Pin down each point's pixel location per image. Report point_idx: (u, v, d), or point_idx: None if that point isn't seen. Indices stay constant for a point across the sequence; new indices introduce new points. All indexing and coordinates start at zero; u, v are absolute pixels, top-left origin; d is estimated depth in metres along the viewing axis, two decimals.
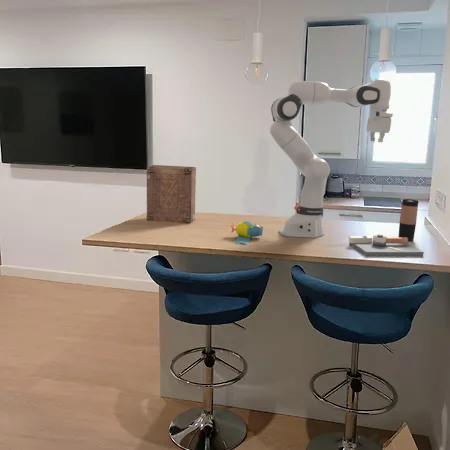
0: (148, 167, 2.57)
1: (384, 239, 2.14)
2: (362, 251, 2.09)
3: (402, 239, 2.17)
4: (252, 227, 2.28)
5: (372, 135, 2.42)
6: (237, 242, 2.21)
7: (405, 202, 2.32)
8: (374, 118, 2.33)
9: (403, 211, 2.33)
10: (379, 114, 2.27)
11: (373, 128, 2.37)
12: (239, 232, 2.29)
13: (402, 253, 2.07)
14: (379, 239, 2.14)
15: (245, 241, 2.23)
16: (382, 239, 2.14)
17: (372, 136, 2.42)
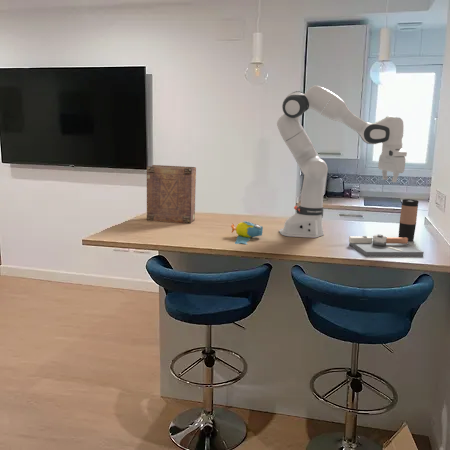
0: (148, 167, 2.57)
1: (384, 239, 2.14)
2: (362, 251, 2.09)
3: (402, 239, 2.17)
4: (252, 227, 2.28)
5: (384, 173, 2.31)
6: (237, 242, 2.21)
7: (405, 202, 2.32)
8: (387, 157, 2.23)
9: (403, 211, 2.33)
10: (392, 154, 2.16)
11: (386, 167, 2.26)
12: (239, 232, 2.29)
13: (402, 253, 2.07)
14: (379, 239, 2.14)
15: (245, 241, 2.24)
16: (382, 239, 2.14)
17: (384, 174, 2.31)
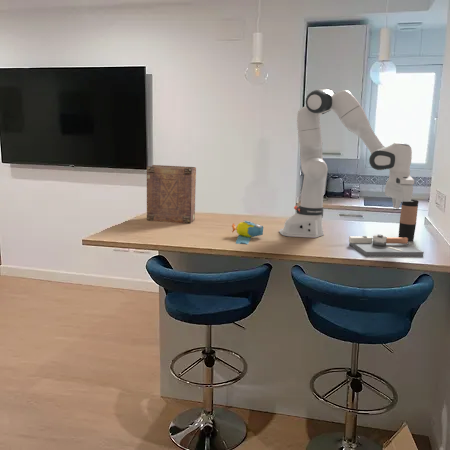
0: (148, 167, 2.57)
1: (384, 239, 2.14)
2: (362, 251, 2.09)
3: (402, 239, 2.17)
4: (253, 227, 2.29)
5: (395, 201, 2.22)
6: (238, 242, 2.21)
7: (405, 202, 2.32)
8: (394, 184, 2.17)
9: (403, 211, 2.33)
10: (400, 182, 2.10)
11: (393, 194, 2.20)
12: (240, 232, 2.30)
13: (402, 253, 2.07)
14: (379, 239, 2.14)
15: (246, 241, 2.24)
16: (382, 239, 2.14)
17: (395, 202, 2.21)
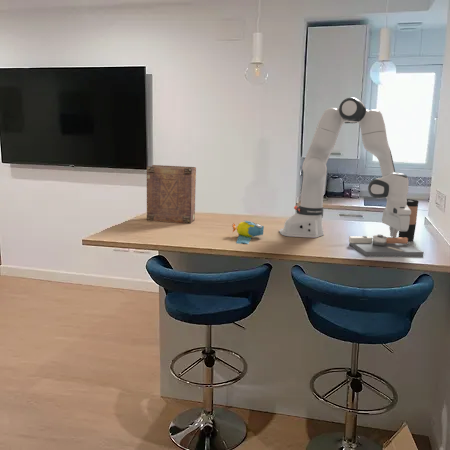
0: (148, 167, 2.57)
1: (384, 239, 2.14)
2: (362, 251, 2.09)
3: (402, 239, 2.17)
4: (253, 227, 2.29)
5: (392, 229, 2.25)
6: (238, 241, 2.22)
7: None
8: (391, 213, 2.20)
9: None
10: (397, 212, 2.13)
11: (390, 222, 2.23)
12: (240, 232, 2.30)
13: (402, 253, 2.07)
14: (379, 239, 2.14)
15: (246, 240, 2.24)
16: (382, 239, 2.14)
17: (392, 231, 2.25)
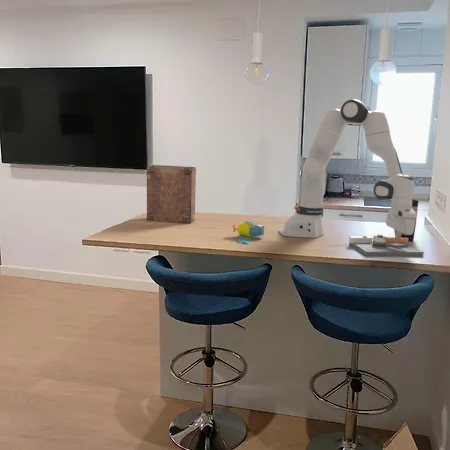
0: (148, 167, 2.57)
1: (384, 239, 2.14)
2: (362, 251, 2.09)
3: (402, 239, 2.17)
4: (254, 227, 2.29)
5: (397, 233, 2.20)
6: (239, 242, 2.22)
7: None
8: (396, 216, 2.15)
9: None
10: (402, 215, 2.09)
11: (394, 225, 2.19)
12: (241, 232, 2.30)
13: (402, 253, 2.07)
14: (379, 239, 2.14)
15: (247, 241, 2.24)
16: (382, 239, 2.14)
17: None
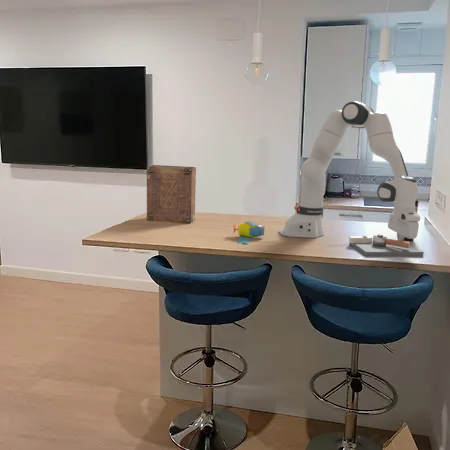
0: (148, 167, 2.57)
1: (379, 239, 2.14)
2: (362, 251, 2.09)
3: (402, 243, 2.10)
4: (254, 227, 2.29)
5: (399, 236, 2.14)
6: (239, 242, 2.21)
7: None
8: (398, 219, 2.10)
9: None
10: (405, 218, 2.03)
11: (397, 228, 2.13)
12: (241, 232, 2.29)
13: (402, 253, 2.07)
14: (375, 238, 2.15)
15: (247, 241, 2.24)
16: (377, 239, 2.14)
17: (399, 237, 2.14)
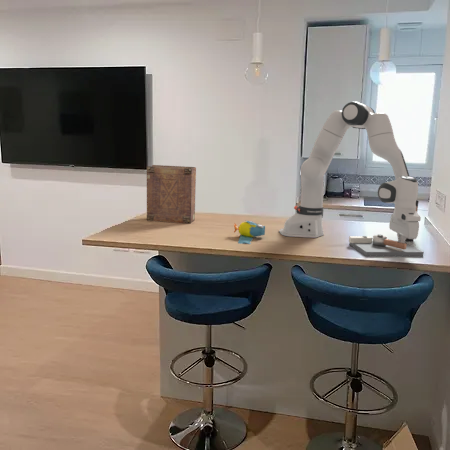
0: (148, 167, 2.57)
1: (377, 239, 2.14)
2: (362, 251, 2.09)
3: (398, 244, 2.08)
4: (255, 227, 2.29)
5: (400, 236, 2.12)
6: (240, 242, 2.22)
7: None
8: (399, 219, 2.08)
9: None
10: (405, 218, 2.01)
11: (397, 229, 2.11)
12: (242, 232, 2.30)
13: (402, 253, 2.07)
14: (373, 238, 2.16)
15: (248, 241, 2.25)
16: (375, 238, 2.15)
17: (400, 238, 2.12)
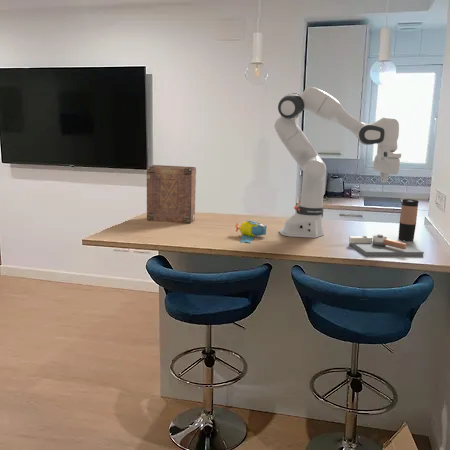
0: (148, 167, 2.57)
1: (377, 239, 2.14)
2: (362, 251, 2.09)
3: (398, 244, 2.08)
4: (256, 226, 2.31)
5: (383, 175, 2.28)
6: (242, 241, 2.23)
7: (405, 202, 2.32)
8: (381, 158, 2.23)
9: (403, 211, 2.33)
10: (387, 155, 2.16)
11: (380, 168, 2.26)
12: (243, 231, 2.32)
13: (402, 253, 2.07)
14: (373, 238, 2.16)
15: (250, 240, 2.26)
16: (375, 238, 2.15)
17: (383, 176, 2.28)
